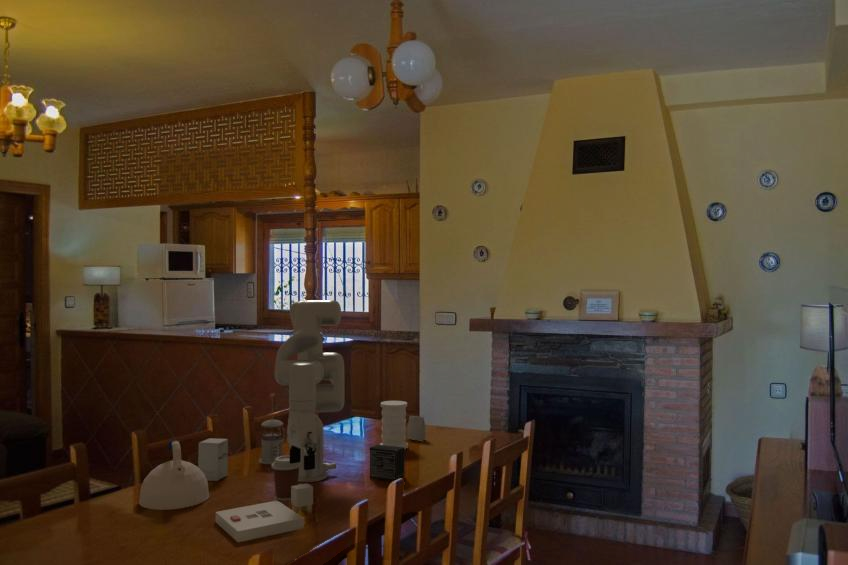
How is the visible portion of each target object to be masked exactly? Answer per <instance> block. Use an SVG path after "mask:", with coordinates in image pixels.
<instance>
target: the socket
mask: <svg viewBox="0 0 848 565" xmlns="http://www.w3.org/2000/svg"><path fill="white" fill-rule="evenodd" d="M304 519H305V518H304V517H303V516H301V515H300V514H299V513H298V514H297V513H295V512H294V511H293V509H290V507H288V506H286V505H285V504H283V503H282V502H281V501H280V500H273V501H268V502H262V503H256V504H252V505H245V506H240V507H235V508H230V509H229V508H228V509H225V510H224V509H223V510H220V511H215V523H216V524H217V525H218V526H219V527H220V528H221V529H223V530H224V531H225V532H226V533H227V535H229V536H230V537H231V538H232V539H233V540H234V541H236V543H241V542H247V541H251V540H255V539H256V540H257V539H260V538H265V537H270V536H275V535H278V534H279V535H280V534H283V533H288V532H293V531H297V530H303V529H304Z"/></svg>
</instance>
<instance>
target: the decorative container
mask: <svg viewBox="0 0 848 565" xmlns="http://www.w3.org/2000/svg"><path fill="white" fill-rule="evenodd" d="M407 407H408V402H407V401H403V400H386V401H385V400H384V401H381V402H380V408H382V409H381V417H382V418H381V421H380V422H381V424H382V425H381V436H380V438H381V442H380V443H379V445H387V446H397V447H404V449H405V450H407V449H408V448H409V444H408V442H406V440H407V426H406V423H407V418H406V415H407V410H406V409H407ZM406 448H407V449H406Z"/></svg>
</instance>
